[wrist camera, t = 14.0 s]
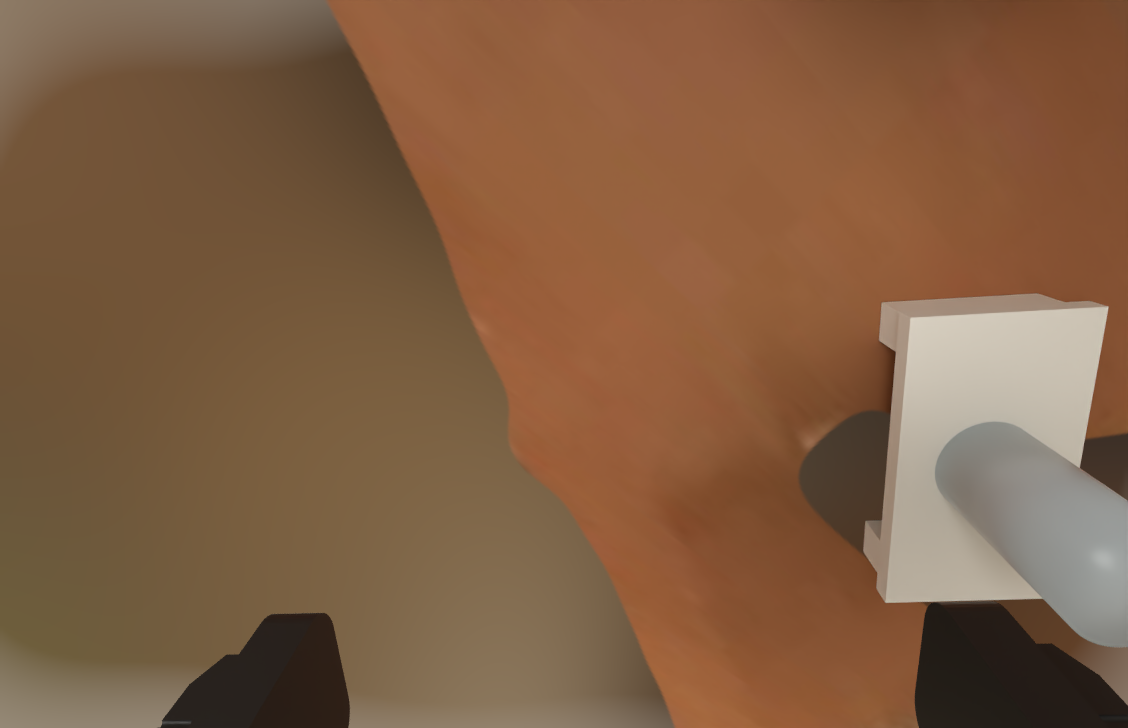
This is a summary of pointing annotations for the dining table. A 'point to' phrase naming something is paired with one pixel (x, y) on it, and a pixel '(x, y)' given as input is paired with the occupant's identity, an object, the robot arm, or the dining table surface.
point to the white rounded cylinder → (1044, 523)
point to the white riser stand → (963, 399)
